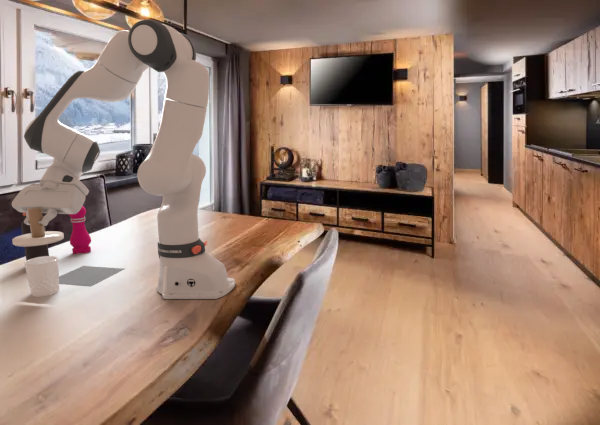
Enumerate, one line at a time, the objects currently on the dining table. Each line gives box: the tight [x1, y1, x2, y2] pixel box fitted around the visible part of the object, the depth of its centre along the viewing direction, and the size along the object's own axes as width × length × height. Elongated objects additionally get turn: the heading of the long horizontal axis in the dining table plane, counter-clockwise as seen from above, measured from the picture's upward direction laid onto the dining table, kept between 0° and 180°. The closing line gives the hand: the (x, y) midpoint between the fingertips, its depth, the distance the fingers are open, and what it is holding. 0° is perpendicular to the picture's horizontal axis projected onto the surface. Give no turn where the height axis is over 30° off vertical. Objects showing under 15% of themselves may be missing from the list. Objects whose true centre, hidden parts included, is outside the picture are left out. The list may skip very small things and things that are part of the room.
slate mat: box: [59, 265, 125, 287], centre depth 129 cm, size 16×16×1 cm
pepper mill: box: [68, 205, 92, 255], centre depth 155 cm, size 7×7×20 cm
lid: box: [11, 208, 65, 248], centre depth 112 cm, size 12×12×9 cm
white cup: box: [24, 255, 60, 298], centre depth 115 cm, size 8×8×10 cm
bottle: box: [20, 212, 50, 261], centre depth 140 cm, size 7×7×20 cm
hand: (34, 224), depth 112 cm, fingers closed on lid, 3 cm apart
